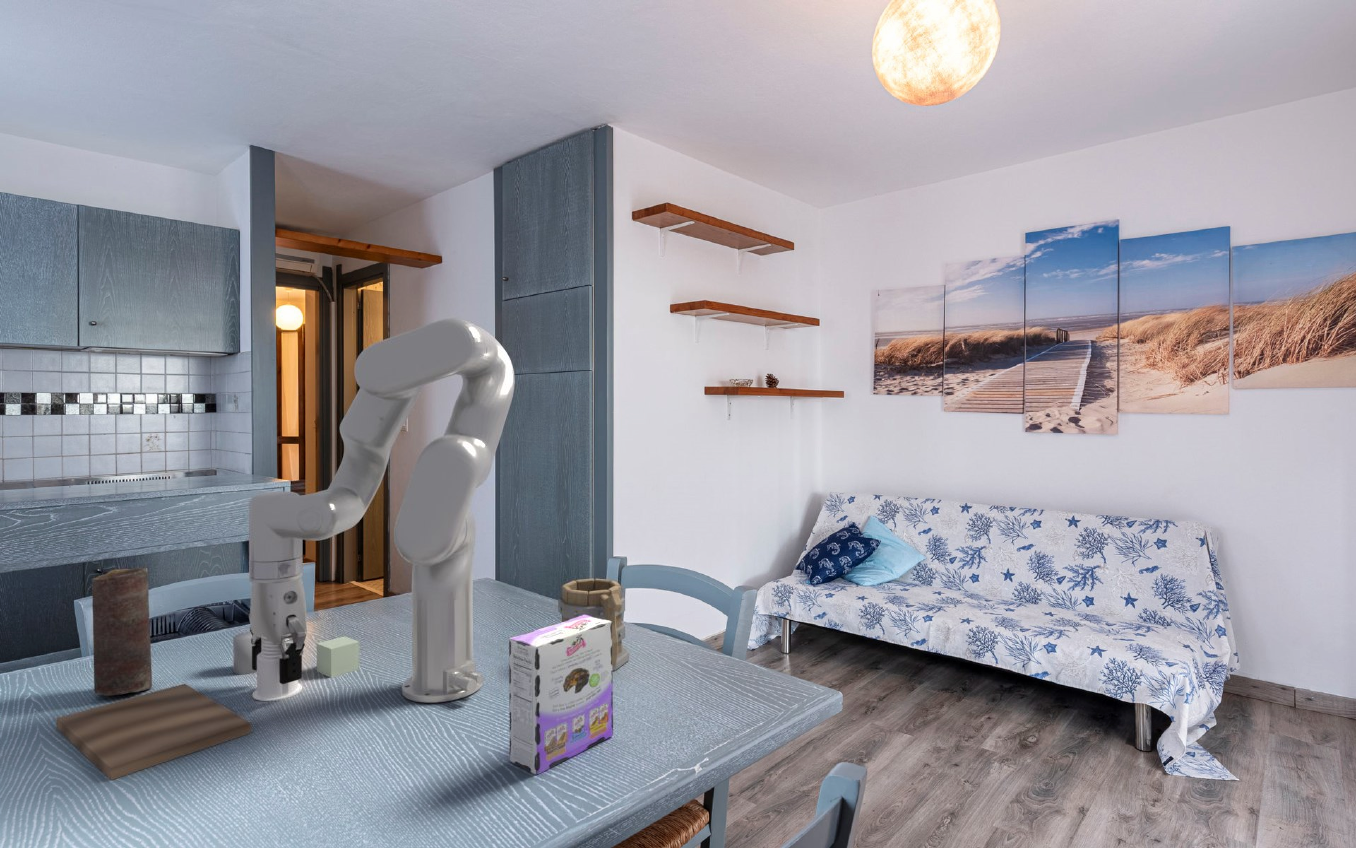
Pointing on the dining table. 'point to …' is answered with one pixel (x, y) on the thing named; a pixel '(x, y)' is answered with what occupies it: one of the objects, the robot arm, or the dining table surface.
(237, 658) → the grey rounded cylinder
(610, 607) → the tankard
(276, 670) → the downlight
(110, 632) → the brown textured cylinder
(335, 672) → the sage block
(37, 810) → the dining table surface
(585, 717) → the candy box
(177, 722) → the walnut board
